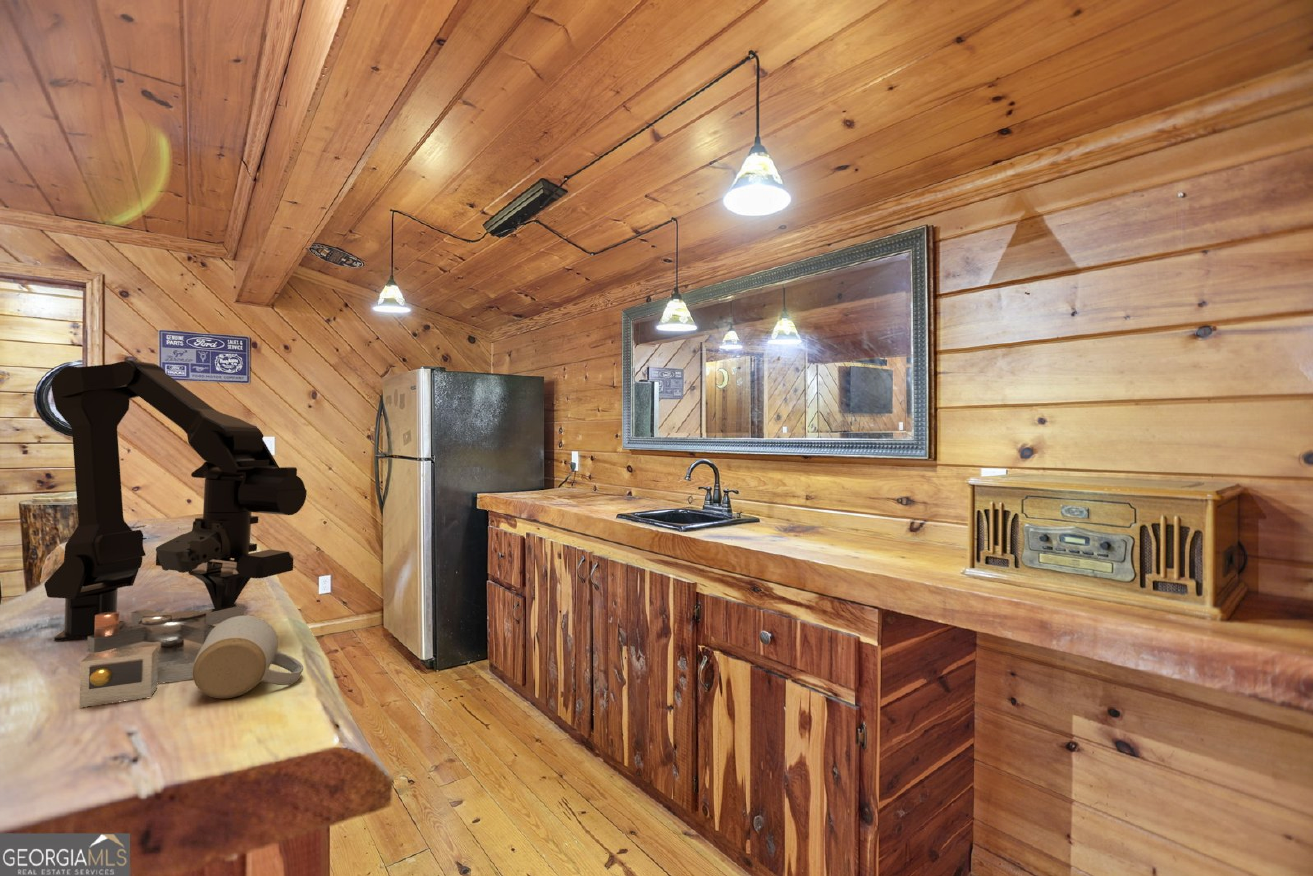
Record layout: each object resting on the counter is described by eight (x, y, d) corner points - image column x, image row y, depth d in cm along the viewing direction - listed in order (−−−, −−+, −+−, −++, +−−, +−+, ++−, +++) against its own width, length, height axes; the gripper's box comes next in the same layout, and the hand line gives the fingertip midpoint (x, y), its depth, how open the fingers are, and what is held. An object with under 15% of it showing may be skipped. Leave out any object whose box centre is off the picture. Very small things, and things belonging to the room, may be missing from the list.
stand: (132, 646, 84) (133, 610, 84) (236, 634, 90) (236, 601, 90) (68, 714, 63) (70, 666, 64) (208, 693, 69) (209, 649, 69)
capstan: (206, 609, 91) (206, 581, 91) (277, 625, 83) (278, 594, 84) (56, 642, 75) (57, 608, 75) (128, 665, 68) (129, 627, 68)
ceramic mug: (187, 708, 65) (190, 637, 66) (203, 681, 73) (206, 617, 73) (300, 692, 70) (302, 626, 70) (304, 669, 78) (306, 609, 78)
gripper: (117, 511, 81) (111, 626, 81) (228, 523, 77) (222, 644, 77) (197, 503, 92) (192, 604, 92) (298, 513, 88) (293, 619, 88)
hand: (222, 617), depth 87 cm, fingers closed
